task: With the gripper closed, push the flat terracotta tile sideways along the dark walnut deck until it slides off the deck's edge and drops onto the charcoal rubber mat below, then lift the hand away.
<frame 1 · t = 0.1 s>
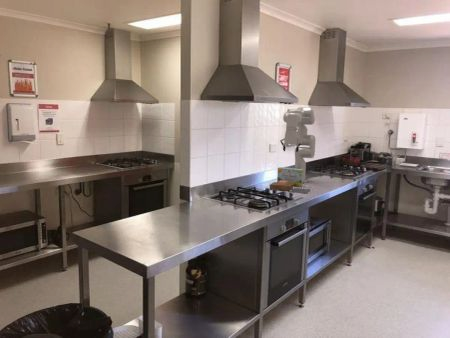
hand: (290, 151, 286), 31 cm above the counter, tool pointing down, fingers open, 9 cm apart
tile: (282, 184, 296), point 4 cm above the counter, touching deck
snack box: (289, 186, 312), on the counter
mat: (300, 190, 291), on the counter
deck: (281, 189, 297), on the counter
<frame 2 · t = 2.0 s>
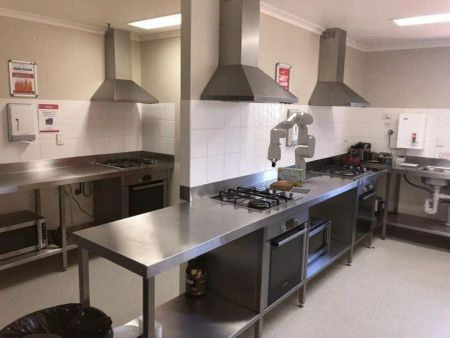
hand: (273, 167, 297), 17 cm above the counter, tool pointing down, fingers closed
nothing on the counter moved.
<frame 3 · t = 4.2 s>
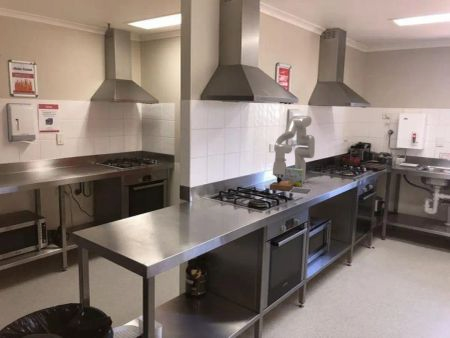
hand: (278, 182, 297), 5 cm above the counter, tool pointing down, fingers closed
tile: (284, 184, 295), point 4 cm above the counter, touching deck
everything else where it was.
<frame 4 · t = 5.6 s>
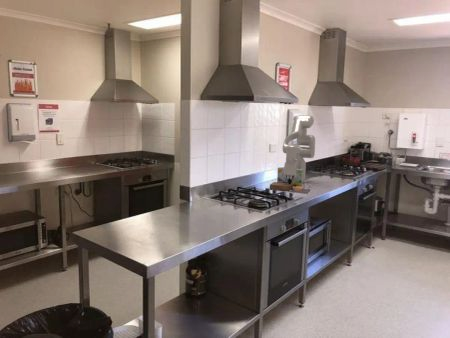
hand: (289, 183, 294), 5 cm above the counter, tool pointing down, fingers closed
tile: (298, 187, 291), point 3 cm above the counter, tilted 180°, touching mat
everything else where it was.
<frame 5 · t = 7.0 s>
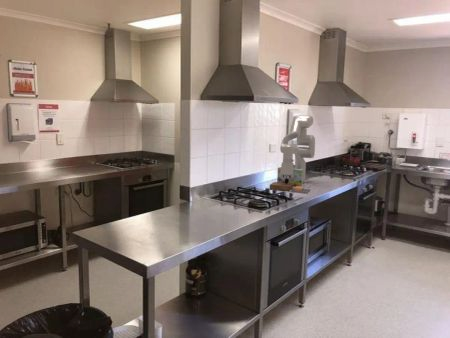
hand: (286, 183, 295), 5 cm above the counter, tool pointing down, fingers closed
nothing on the counter moved.
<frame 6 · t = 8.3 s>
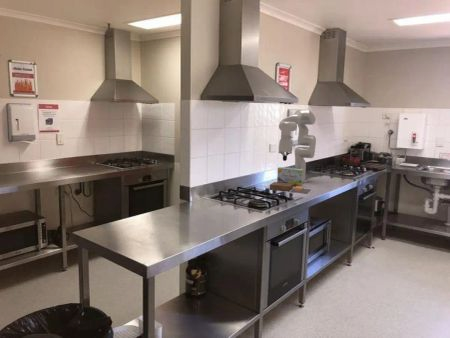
hand: (284, 160, 293), 23 cm above the counter, tool pointing down, fingers closed
nothing on the counter moved.
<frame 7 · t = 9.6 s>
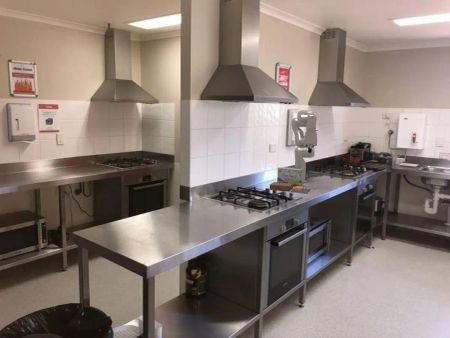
hand: (309, 153, 298), 29 cm above the counter, tool pointing down, fingers closed
nothing on the counter moved.
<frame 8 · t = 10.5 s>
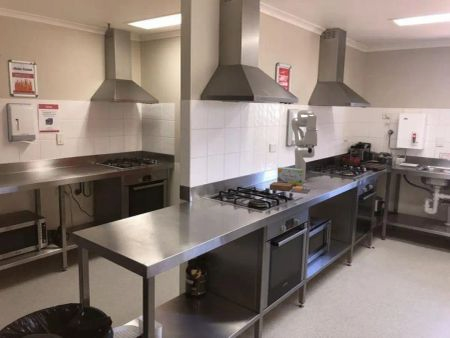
hand: (309, 153, 298), 29 cm above the counter, tool pointing down, fingers closed
nothing on the counter moved.
at the end: tile point 2.8 cm above the counter; tile inside the target area on the mat (1.6 cm from its centre), point 2.8 cm above the mat's base; tile touching mat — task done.
